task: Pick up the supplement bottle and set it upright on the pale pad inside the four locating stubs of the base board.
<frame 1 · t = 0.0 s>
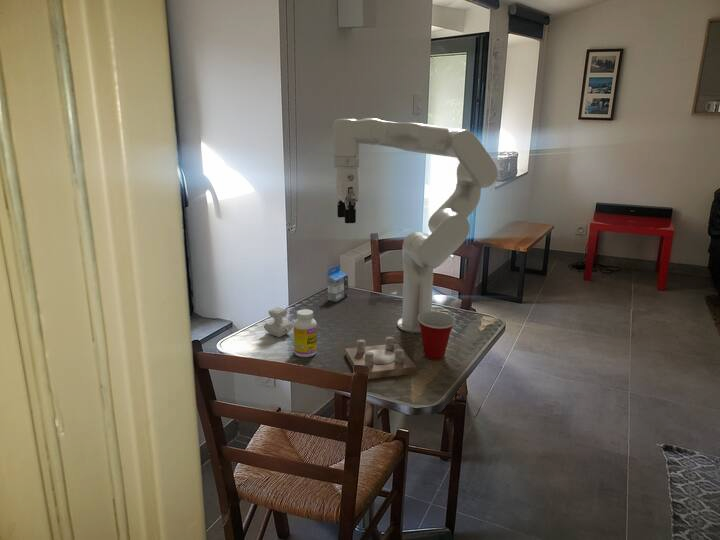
hand: (346, 219, 162), 37 cm above the table, tool pointing down, fingers open, 9 cm apart
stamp: (278, 335, 171), on the table
stub board: (379, 363, 151), on the table
supplement bottle: (305, 353, 157), on the table
label tape box: (338, 298, 205), on the table
plastic cup: (434, 356, 156), on the table
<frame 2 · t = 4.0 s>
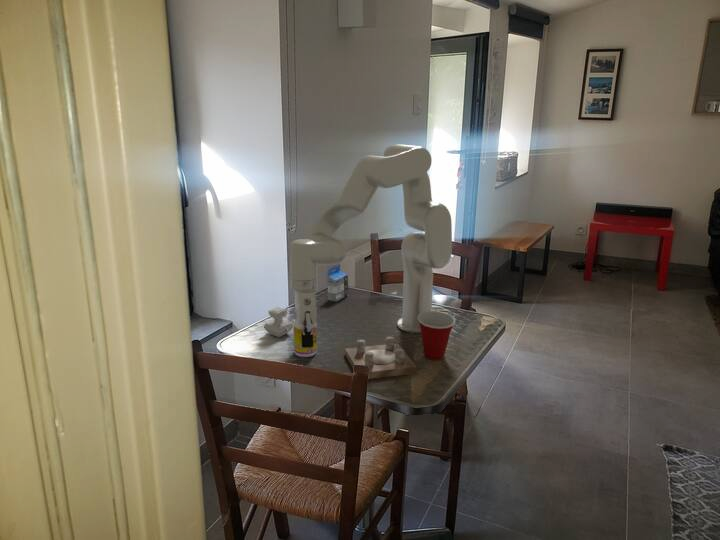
hand: (305, 341, 156), 4 cm above the table, tool pointing down, fingers closed on supplement bottle, 6 cm apart
supplement bottle: (305, 353, 157), on the table, touching gripper
everything else where it was.
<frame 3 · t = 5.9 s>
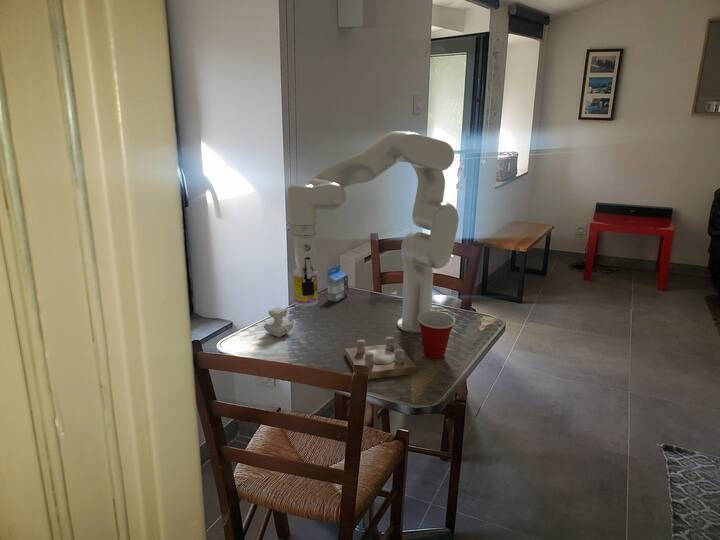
hand: (306, 290, 152), 19 cm above the table, tool pointing down, fingers closed on supplement bottle, 6 cm apart
supplement bottle: (306, 303, 154), point 15 cm above the table, touching gripper
everything else where it was.
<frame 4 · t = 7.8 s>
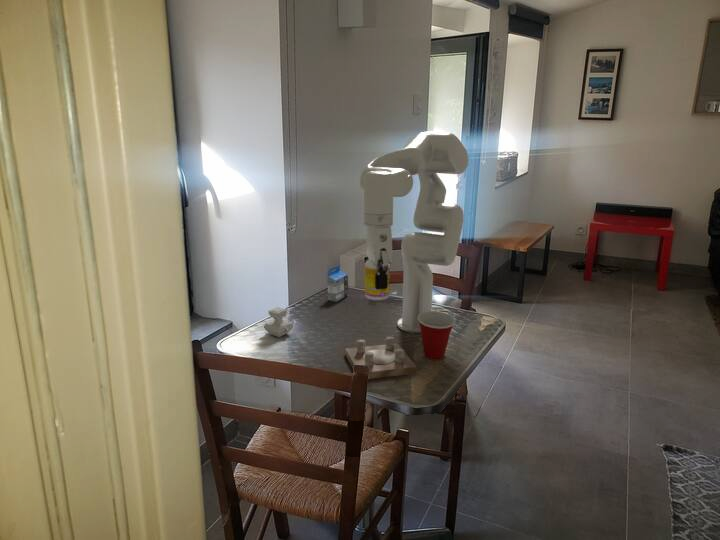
hand: (377, 283, 145), 23 cm above the table, tool pointing down, fingers closed on supplement bottle, 6 cm apart
supplement bottle: (377, 297, 146), point 19 cm above the table, touching gripper
everything else where it was.
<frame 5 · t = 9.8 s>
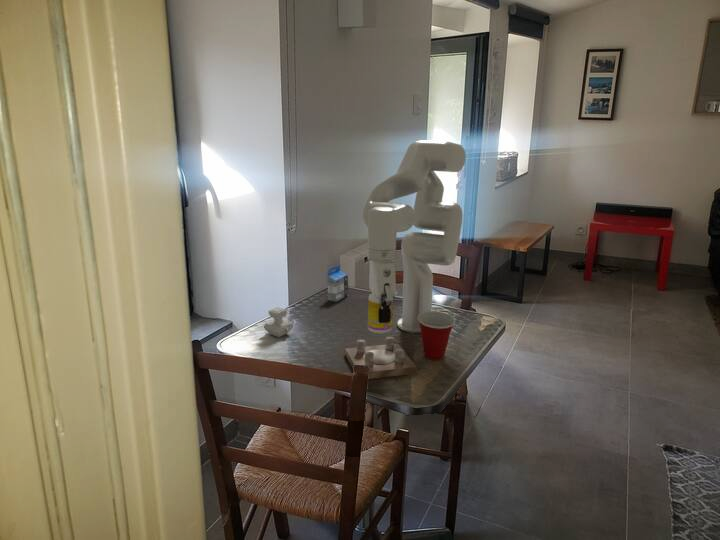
hand: (380, 316, 147), 14 cm above the table, tool pointing down, fingers closed on supplement bottle, 6 cm apart
supplement bottle: (379, 330, 148), point 10 cm above the table, touching gripper
everything else where it was.
when the fingers open (7 cm above the table, at t = 11.7 s): supplement bottle drops 1 cm, resting on stub board.
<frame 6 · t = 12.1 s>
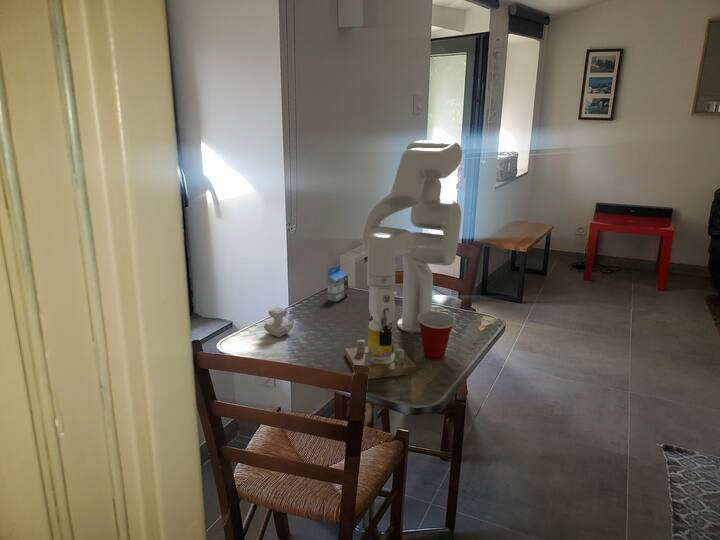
hand: (380, 338, 149), 8 cm above the table, tool pointing down, fingers open, 9 cm apart
supplement bottle: (379, 356, 151), point 2 cm above the table, touching stub board
everything else where it was.
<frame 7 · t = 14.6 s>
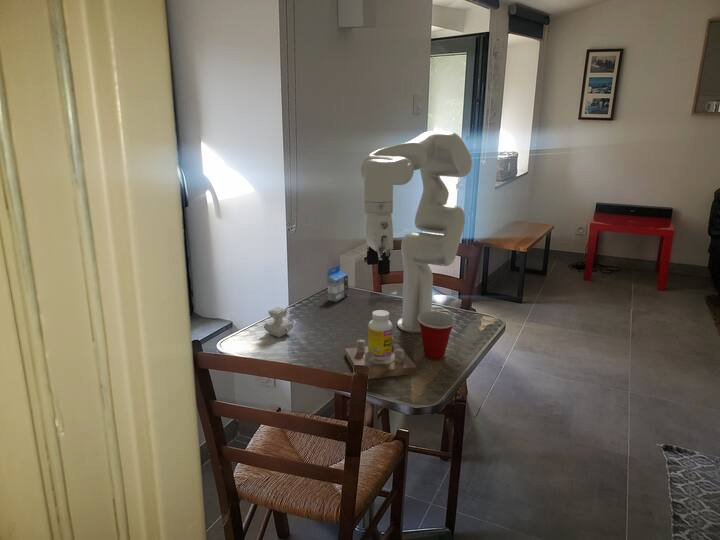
hand: (377, 269, 147), 27 cm above the table, tool pointing down, fingers open, 9 cm apart
nothing on the table moved.
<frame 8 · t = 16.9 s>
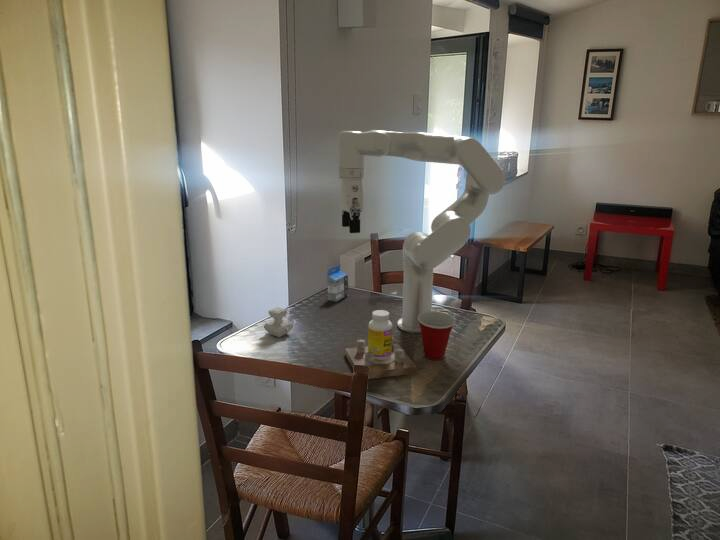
hand: (350, 229, 165), 33 cm above the table, tool pointing down, fingers open, 9 cm apart
nothing on the table moved.
at the end: supplement bottle 0.2 cm off-centre on the stub board, point 2.1 cm above the stub board's base; supplement bottle tilted 0°; the gripper is holding nothing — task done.
